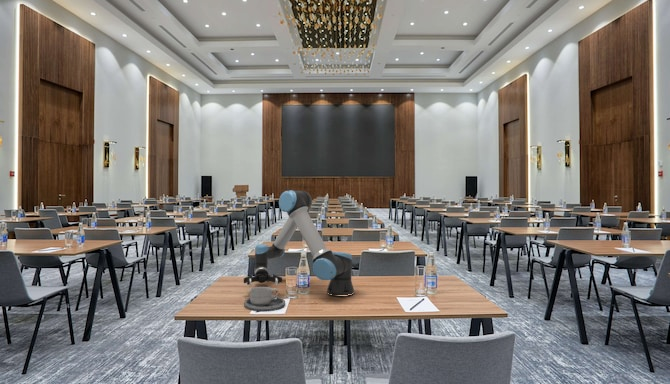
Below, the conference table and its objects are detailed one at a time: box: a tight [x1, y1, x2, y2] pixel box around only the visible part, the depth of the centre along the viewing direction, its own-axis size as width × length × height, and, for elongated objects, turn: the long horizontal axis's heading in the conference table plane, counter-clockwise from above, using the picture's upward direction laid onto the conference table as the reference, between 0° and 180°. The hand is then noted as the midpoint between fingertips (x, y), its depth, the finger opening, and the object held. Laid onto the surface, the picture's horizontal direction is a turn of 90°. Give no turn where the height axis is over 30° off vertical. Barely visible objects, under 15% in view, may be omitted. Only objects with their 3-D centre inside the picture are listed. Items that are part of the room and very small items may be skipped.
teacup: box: [249, 286, 279, 306], centre depth 203 cm, size 14×11×8 cm
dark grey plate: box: [243, 296, 286, 312], centre depth 205 cm, size 20×20×2 cm
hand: (263, 283), depth 214 cm, fingers open, 13 cm apart
